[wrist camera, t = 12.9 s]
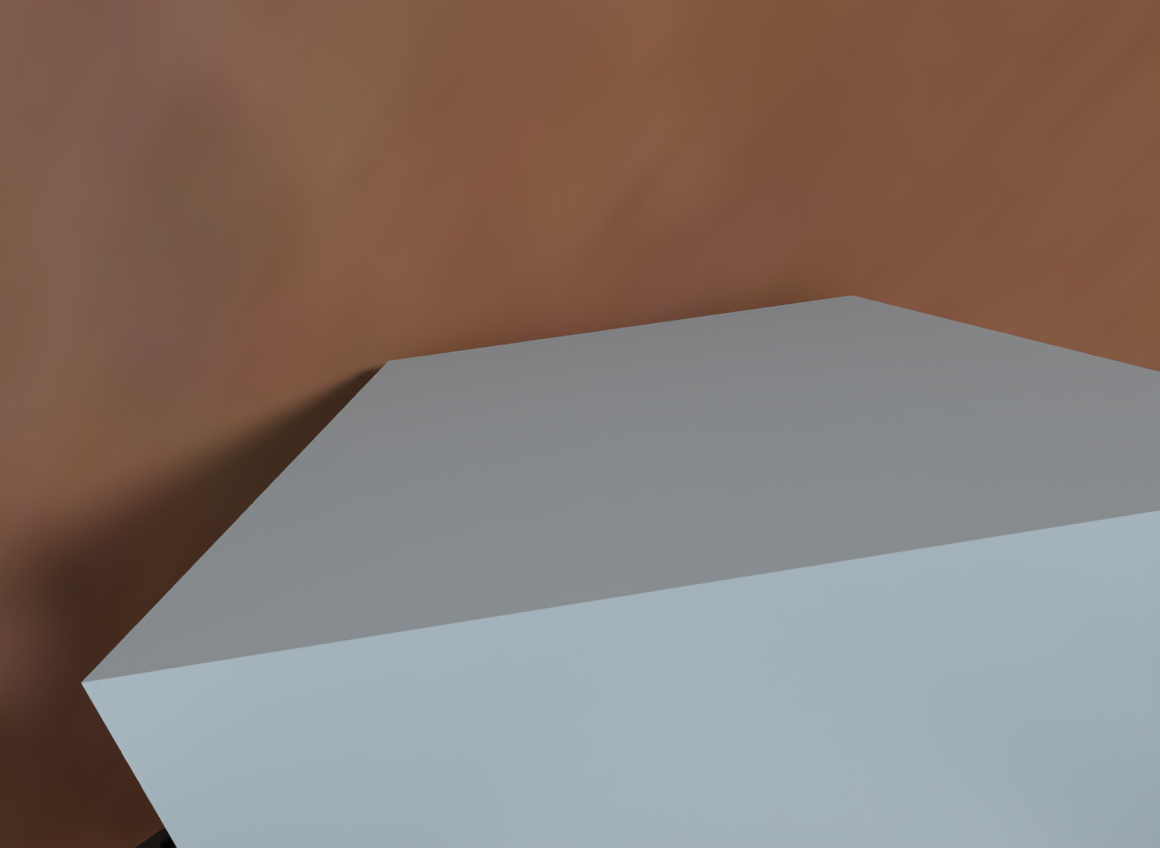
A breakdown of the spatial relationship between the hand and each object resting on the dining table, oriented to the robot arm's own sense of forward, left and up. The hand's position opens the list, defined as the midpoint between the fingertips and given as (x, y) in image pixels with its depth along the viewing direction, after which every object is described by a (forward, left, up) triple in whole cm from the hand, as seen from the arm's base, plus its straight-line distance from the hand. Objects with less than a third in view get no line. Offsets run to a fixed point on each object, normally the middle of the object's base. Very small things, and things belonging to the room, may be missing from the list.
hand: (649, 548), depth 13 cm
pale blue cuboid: (0, 0, -1) cm, 1 cm away
